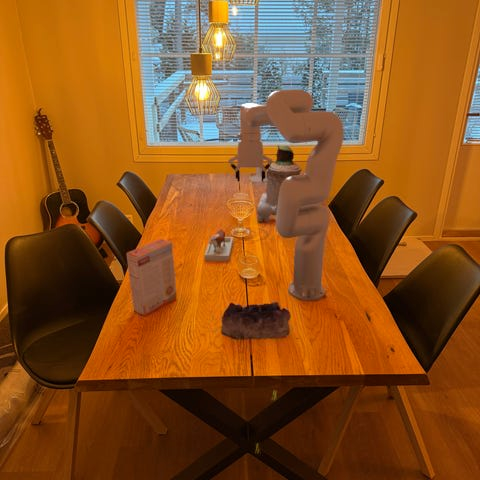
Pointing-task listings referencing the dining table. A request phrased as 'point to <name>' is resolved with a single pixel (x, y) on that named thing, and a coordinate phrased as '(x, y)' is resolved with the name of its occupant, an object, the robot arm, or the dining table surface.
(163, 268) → the cracker box
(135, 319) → the dining table surface
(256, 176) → the candlestick
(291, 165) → the cookie jar
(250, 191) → the dining table surface
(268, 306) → the geode
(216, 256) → the tray
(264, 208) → the chubby cartoon animal
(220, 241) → the bull figurine
